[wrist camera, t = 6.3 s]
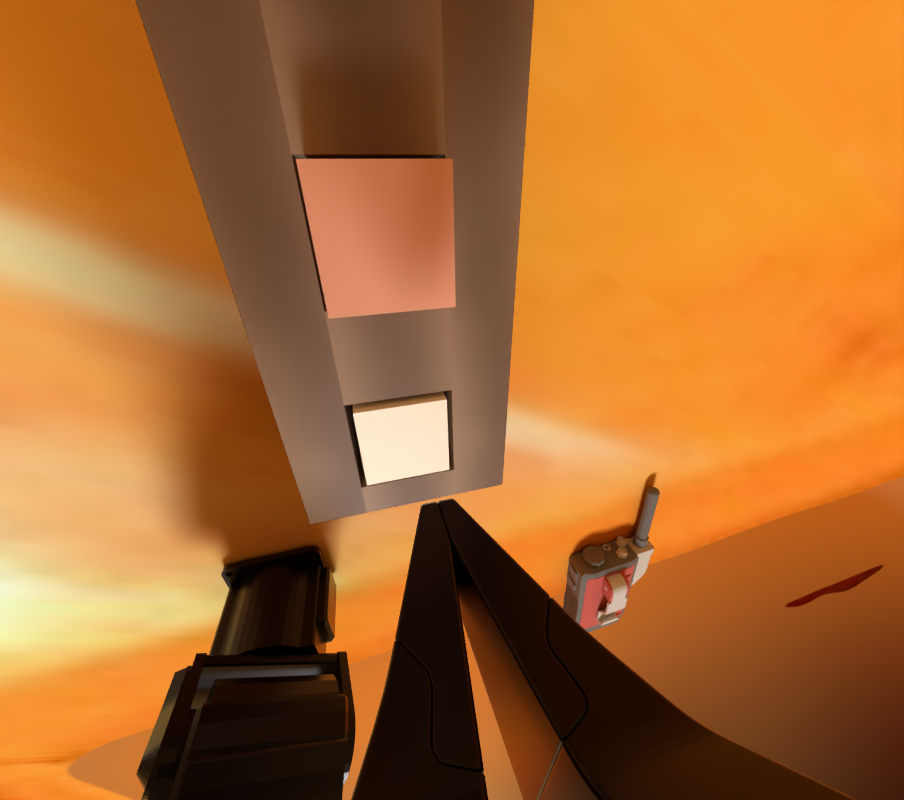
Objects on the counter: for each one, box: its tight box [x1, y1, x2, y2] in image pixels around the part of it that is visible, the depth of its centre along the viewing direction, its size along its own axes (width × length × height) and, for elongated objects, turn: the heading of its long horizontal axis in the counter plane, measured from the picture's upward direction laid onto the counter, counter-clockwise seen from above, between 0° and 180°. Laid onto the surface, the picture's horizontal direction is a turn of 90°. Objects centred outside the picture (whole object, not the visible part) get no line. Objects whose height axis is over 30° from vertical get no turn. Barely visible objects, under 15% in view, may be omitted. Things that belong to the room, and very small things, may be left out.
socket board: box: [135, 0, 534, 524], centre depth 14 cm, size 10×25×6 cm, turn 1°
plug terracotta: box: [296, 159, 456, 319], centre depth 12 cm, size 4×4×6 cm
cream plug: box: [353, 391, 449, 485], centre depth 18 cm, size 4×4×6 cm
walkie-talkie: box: [563, 487, 660, 632], centre depth 36 cm, size 9×4×20 cm
